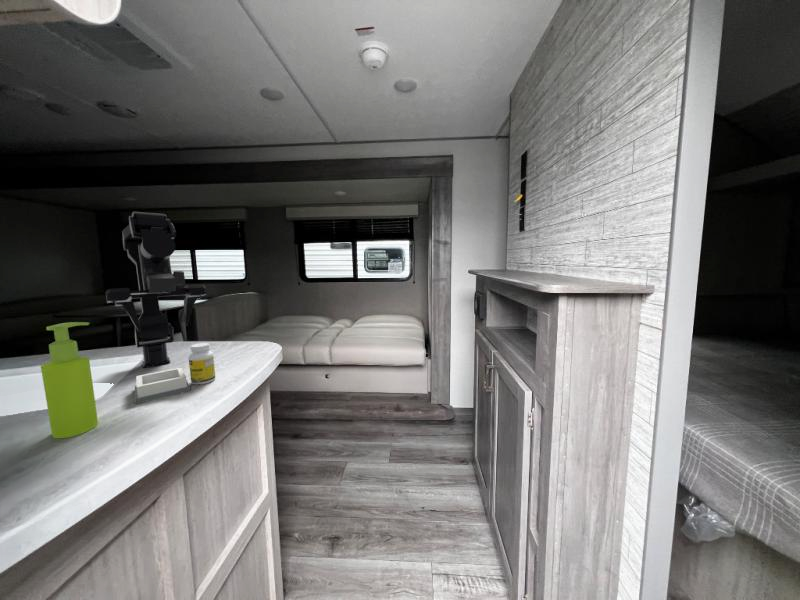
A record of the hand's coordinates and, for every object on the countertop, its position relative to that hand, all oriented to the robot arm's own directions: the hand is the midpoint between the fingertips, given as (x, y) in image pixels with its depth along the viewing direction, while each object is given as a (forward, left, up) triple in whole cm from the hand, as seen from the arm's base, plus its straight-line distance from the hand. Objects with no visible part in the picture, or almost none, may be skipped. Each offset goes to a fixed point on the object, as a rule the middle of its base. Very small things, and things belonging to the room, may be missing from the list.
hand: (164, 328), depth 74 cm
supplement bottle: (+1, +7, -15) cm, 17 cm away
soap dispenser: (+12, -15, -15) cm, 24 cm away
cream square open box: (+1, -2, -15) cm, 15 cm away
